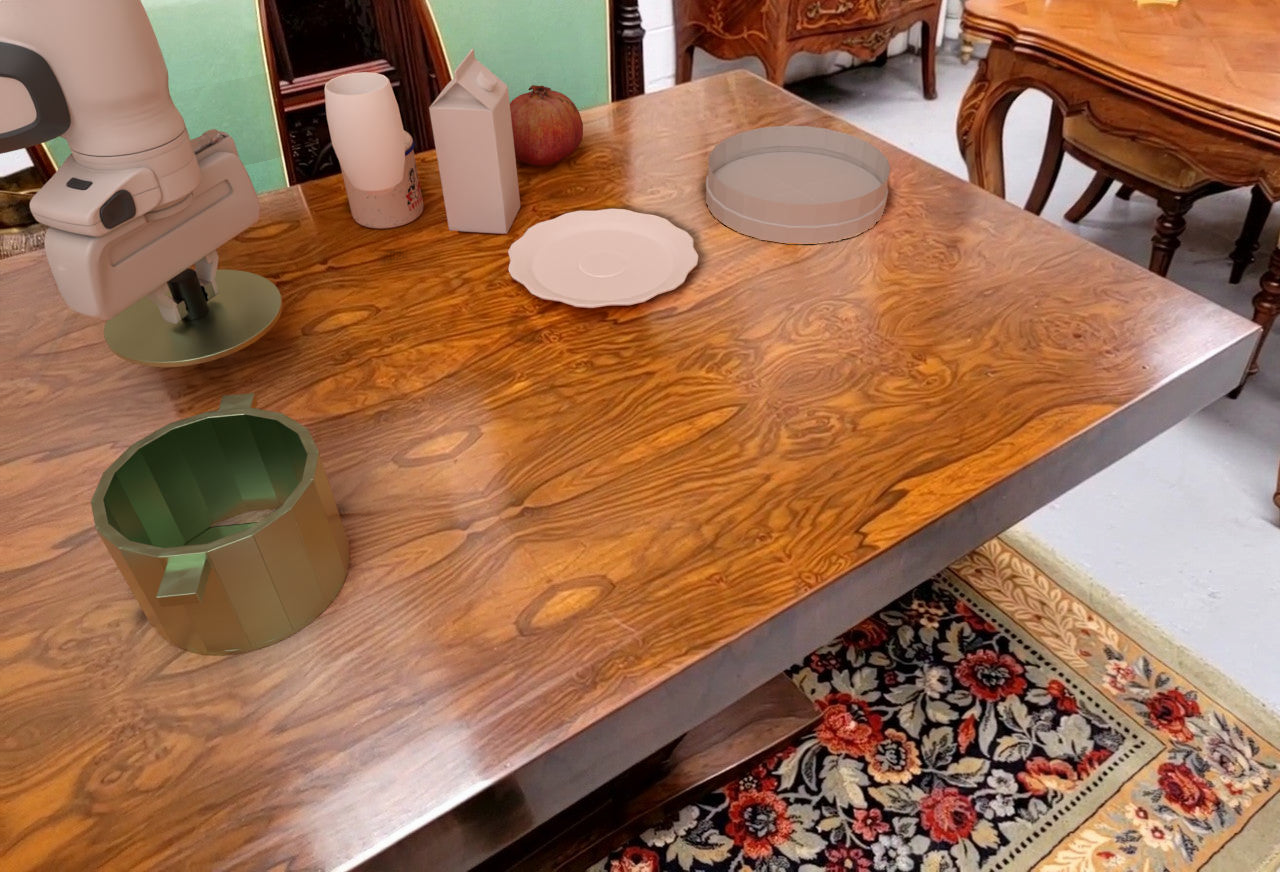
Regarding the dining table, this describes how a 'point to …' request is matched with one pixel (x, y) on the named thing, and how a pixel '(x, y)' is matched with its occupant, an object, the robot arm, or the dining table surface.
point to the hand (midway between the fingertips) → (192, 307)
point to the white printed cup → (389, 197)
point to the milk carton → (476, 150)
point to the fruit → (544, 126)
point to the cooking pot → (224, 528)
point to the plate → (602, 258)
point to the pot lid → (197, 321)
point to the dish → (797, 184)
